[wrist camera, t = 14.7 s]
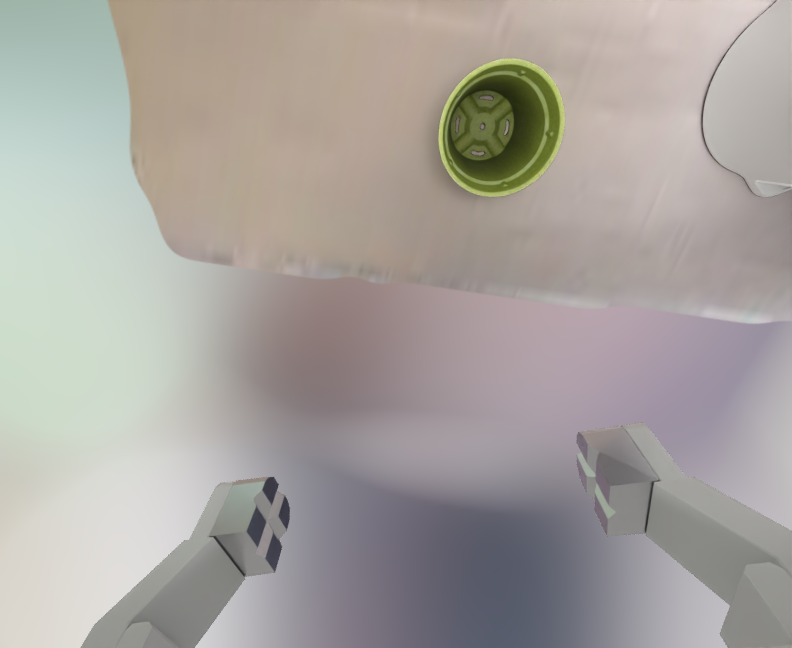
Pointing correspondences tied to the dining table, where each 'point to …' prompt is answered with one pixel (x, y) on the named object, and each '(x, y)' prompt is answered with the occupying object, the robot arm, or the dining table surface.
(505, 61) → the plant pot
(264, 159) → the dining table surface
